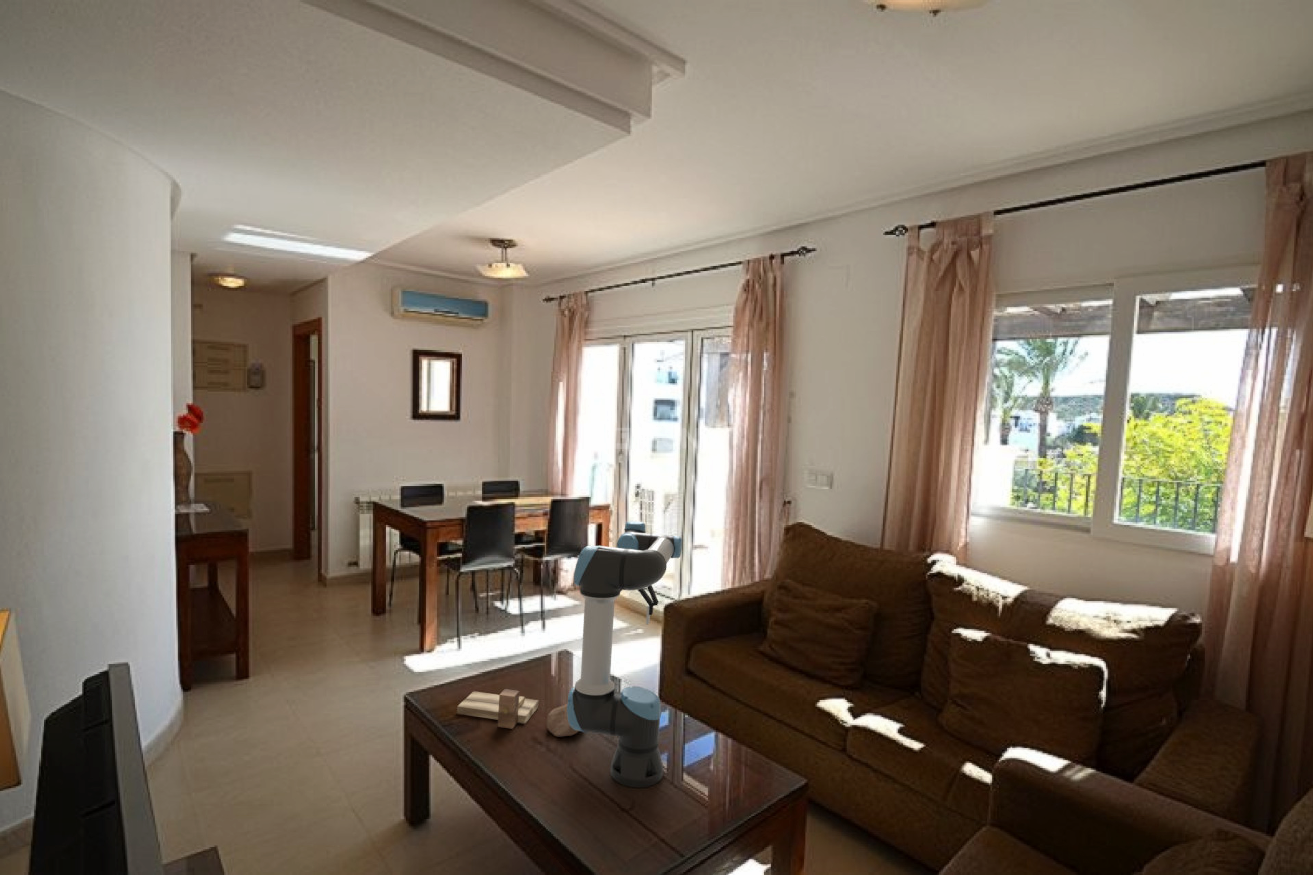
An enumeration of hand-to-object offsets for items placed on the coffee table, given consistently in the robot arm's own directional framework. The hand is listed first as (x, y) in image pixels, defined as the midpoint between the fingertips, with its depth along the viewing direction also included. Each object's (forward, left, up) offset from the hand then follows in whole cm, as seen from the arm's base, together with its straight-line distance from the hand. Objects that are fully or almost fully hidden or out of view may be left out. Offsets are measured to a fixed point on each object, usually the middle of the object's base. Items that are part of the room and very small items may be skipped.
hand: (629, 621), depth 231 cm
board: (-24, +39, -28) cm, 54 cm away
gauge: (-28, +32, -27) cm, 51 cm away
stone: (-31, +13, -28) cm, 44 cm away
